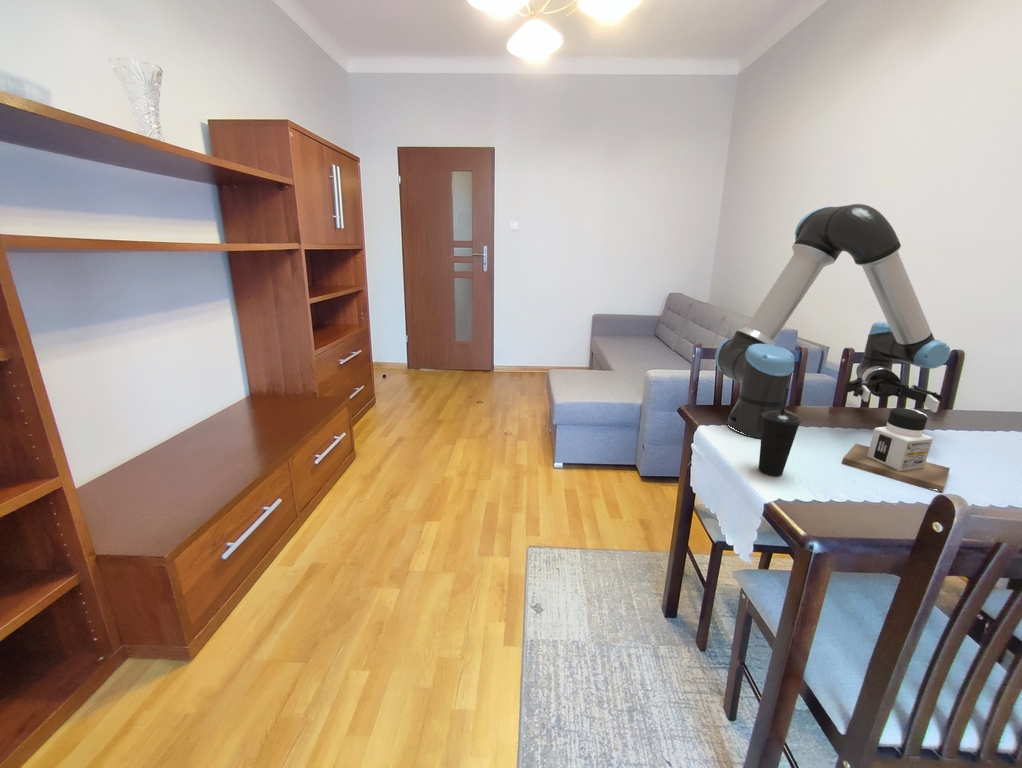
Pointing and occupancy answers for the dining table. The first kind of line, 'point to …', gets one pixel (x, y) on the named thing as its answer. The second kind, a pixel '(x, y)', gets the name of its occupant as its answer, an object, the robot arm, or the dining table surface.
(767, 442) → the drinking cup
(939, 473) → the serving board
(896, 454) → the container
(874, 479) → the dining table surface
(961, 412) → the dining table surface
